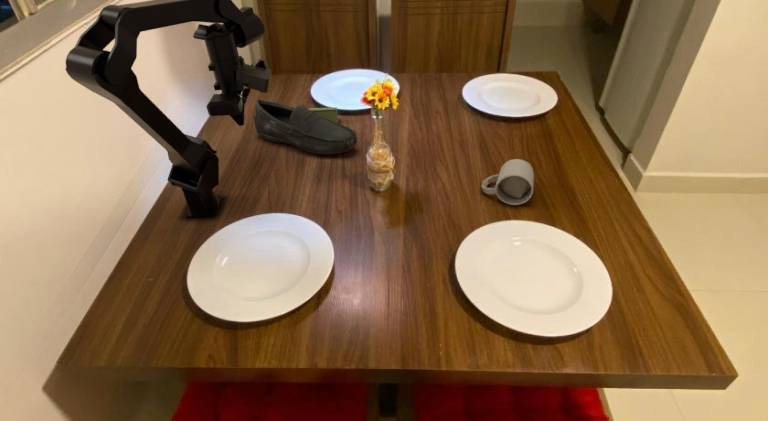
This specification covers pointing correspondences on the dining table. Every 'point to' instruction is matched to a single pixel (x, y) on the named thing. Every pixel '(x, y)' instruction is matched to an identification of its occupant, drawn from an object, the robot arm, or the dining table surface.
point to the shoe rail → (327, 113)
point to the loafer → (302, 128)
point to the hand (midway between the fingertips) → (241, 124)
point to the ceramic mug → (512, 182)
